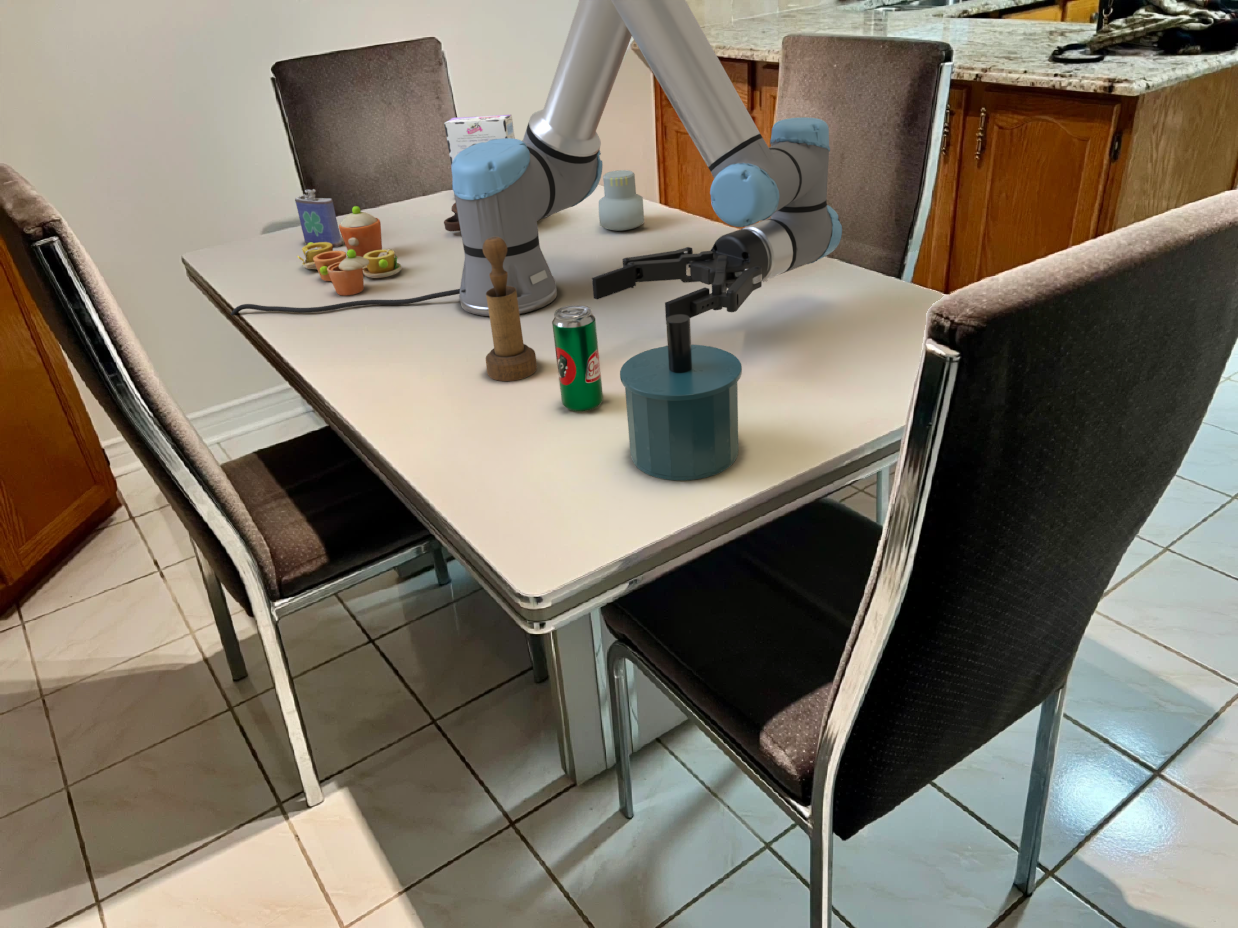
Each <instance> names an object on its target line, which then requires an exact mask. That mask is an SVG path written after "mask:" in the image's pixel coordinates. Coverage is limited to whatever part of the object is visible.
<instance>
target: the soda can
mask: <svg viewBox="0 0 1238 928" xmlns="http://www.w3.org/2000/svg"><path fill="white" fill-rule="evenodd" d="M553 315H554V318H553V319H552V321H551V324H552V332H553V333H552V334H553V340H554V341H553V342H554V349H555V357H556V365H557V367H556V368H557V374H558V383H559V392H560V399H561V404H562V406H564V407H565V408H566V409H567V410H569V411H571V412H576V413H582V412H589V411H592V410H595V409H597V408H599V406H600V405H601V404H602V402H603V400H604V393H603V392H604V391H603V382H602V373H601V372H602V371H601V362H600V361H601V360H600V353H599V351H600V350H599V340H598V330H597V320H596V316H595V315H594V313H592V308H591V307H589V306H586V305H584V304H583V305H582V304H573V305H572V304H571V305H566V306H562V307H560V308H558V309H556V310H555V311H554V314H553Z"/></svg>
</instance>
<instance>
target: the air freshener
mask: <svg viewBox="0 0 1238 928" xmlns="http://www.w3.org/2000/svg"><path fill="white" fill-rule="evenodd" d="M602 178H603V180H602V181H603V192H604V193H603V194H604V195H603V197H601V198H600V199H599V200H598V220H599V226H601V227H602V228H605V229H607V230H609V231H618V232H622V231H623V232H624V231H629V230H634V229H637V228H638V227H640V226H641V225H644V223H645V211H644V198H643V197H644V196H642V195H640V194H638V193H637V188H636V186H637V185H636V174H635V172H633V171H632V170H628V169H627V170H626V169H620V170H613V171H612V170H611V171H608V172H605V173H604V174H603V176H602Z"/></svg>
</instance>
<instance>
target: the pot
mask: <svg viewBox="0 0 1238 928" xmlns="http://www.w3.org/2000/svg"><path fill="white" fill-rule="evenodd" d="M624 391H625V392H624V393H625V402H626V403H625V404H626V414H627V415H626V416H627V428H628V440H629V452H630V457H631V460H632V463H633V465H634V466H635V467H636V468H637V469H638V470H640V472H642V473H644V474H645V475H648V476H651V477H653V478H657V479H661V480H668V481H681V482H682V481H683V482H684V481H695V480H702V479H705V478H710V477H713V476H716V475H717V474H720V473H722V472H724V471H725V470H727V469H730V467H731V466H732V465H733V464H734V463H736V460H737V458H738V456H739V408H738V407H739V404H738V403H739V398H738V395H739V394H738V392H739V391H738V382H737V383H736V384H734V385H733V386H732V387H730V388H729V389H727V390H725V391H723V392H720V393H718V394H715V395H712V396H708V397H704V398H699V399H692V400H680V401H669V400H658V399H651V398H647V397H643V396H640V395H637V394H635V393H633V392H631V391H629V390H628V389H627V388H626V387H625V386H624Z"/></svg>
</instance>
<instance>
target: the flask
mask: <svg viewBox="0 0 1238 928" xmlns="http://www.w3.org/2000/svg"><path fill="white" fill-rule="evenodd" d="M316 192H317V190H316V189H315V188H313V189H305V190H304V194H302V195H299V196H296V197H295V198H294V202H295V205H296V209H297V213H298V218H299V221H300V227H301V232H302V235H303V239H304V245H308V243H310V242H312V243H318V242H328V243H331V244H332V245H333V248H338V247H340V246H342V245H343V240H342V239H343V238H342V235H341V232H340V230H339V224H338V219H337V215H336V211H335V206H334V201H333V198H329V197H328V198H325V197H324V198H323V197H316Z"/></svg>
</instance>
